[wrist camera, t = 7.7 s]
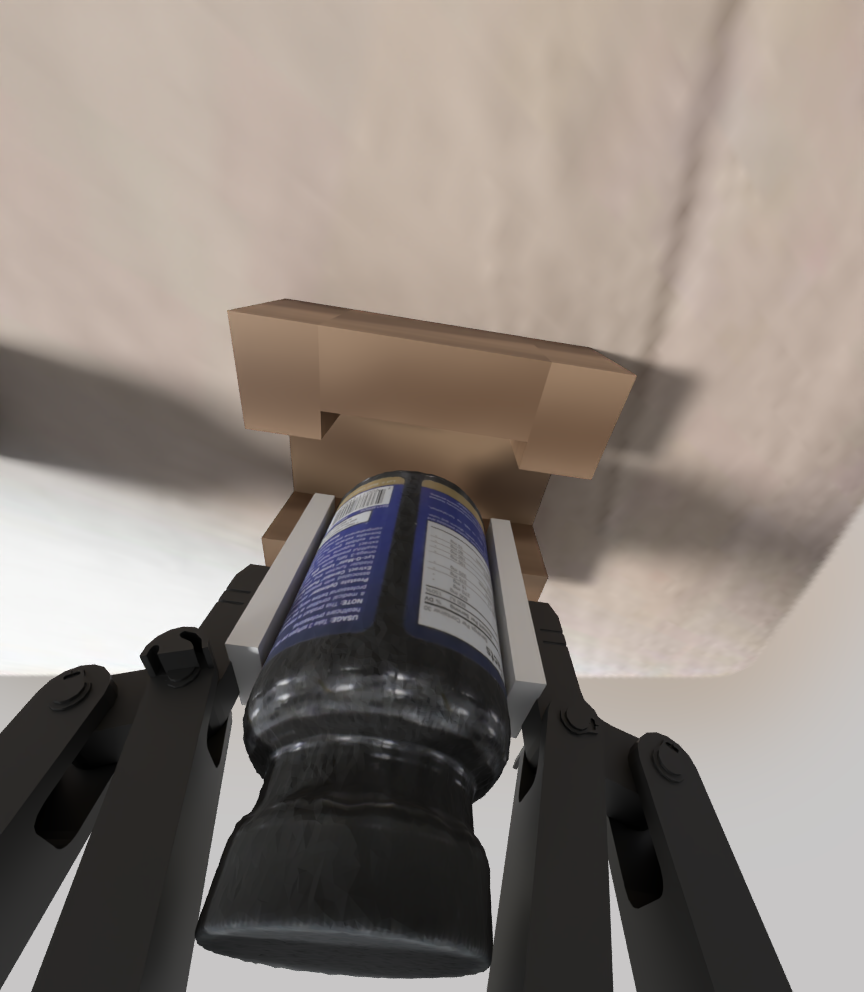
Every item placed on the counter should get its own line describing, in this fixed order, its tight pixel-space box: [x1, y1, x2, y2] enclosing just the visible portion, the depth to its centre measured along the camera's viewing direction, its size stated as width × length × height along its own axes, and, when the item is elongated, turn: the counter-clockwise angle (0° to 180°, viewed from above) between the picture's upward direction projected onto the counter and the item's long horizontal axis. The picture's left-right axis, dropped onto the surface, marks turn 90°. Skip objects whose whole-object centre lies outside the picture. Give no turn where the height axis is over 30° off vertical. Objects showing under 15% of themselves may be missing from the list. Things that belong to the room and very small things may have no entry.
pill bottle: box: [194, 470, 511, 979], centre depth 10 cm, size 6×6×11 cm
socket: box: [227, 299, 637, 602], centre depth 18 cm, size 14×14×5 cm
